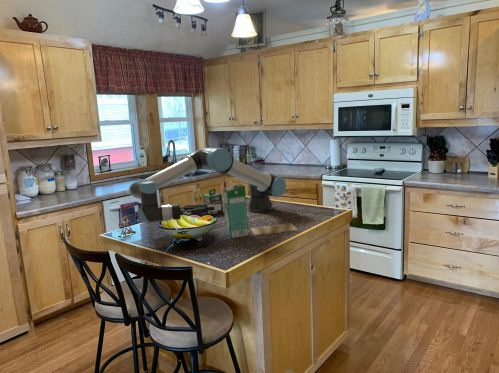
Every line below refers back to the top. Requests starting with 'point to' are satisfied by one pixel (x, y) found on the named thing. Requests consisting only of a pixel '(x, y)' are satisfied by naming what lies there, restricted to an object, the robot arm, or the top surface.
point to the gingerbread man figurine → (126, 225)
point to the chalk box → (213, 200)
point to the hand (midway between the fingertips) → (220, 207)
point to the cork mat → (273, 229)
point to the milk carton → (235, 211)
